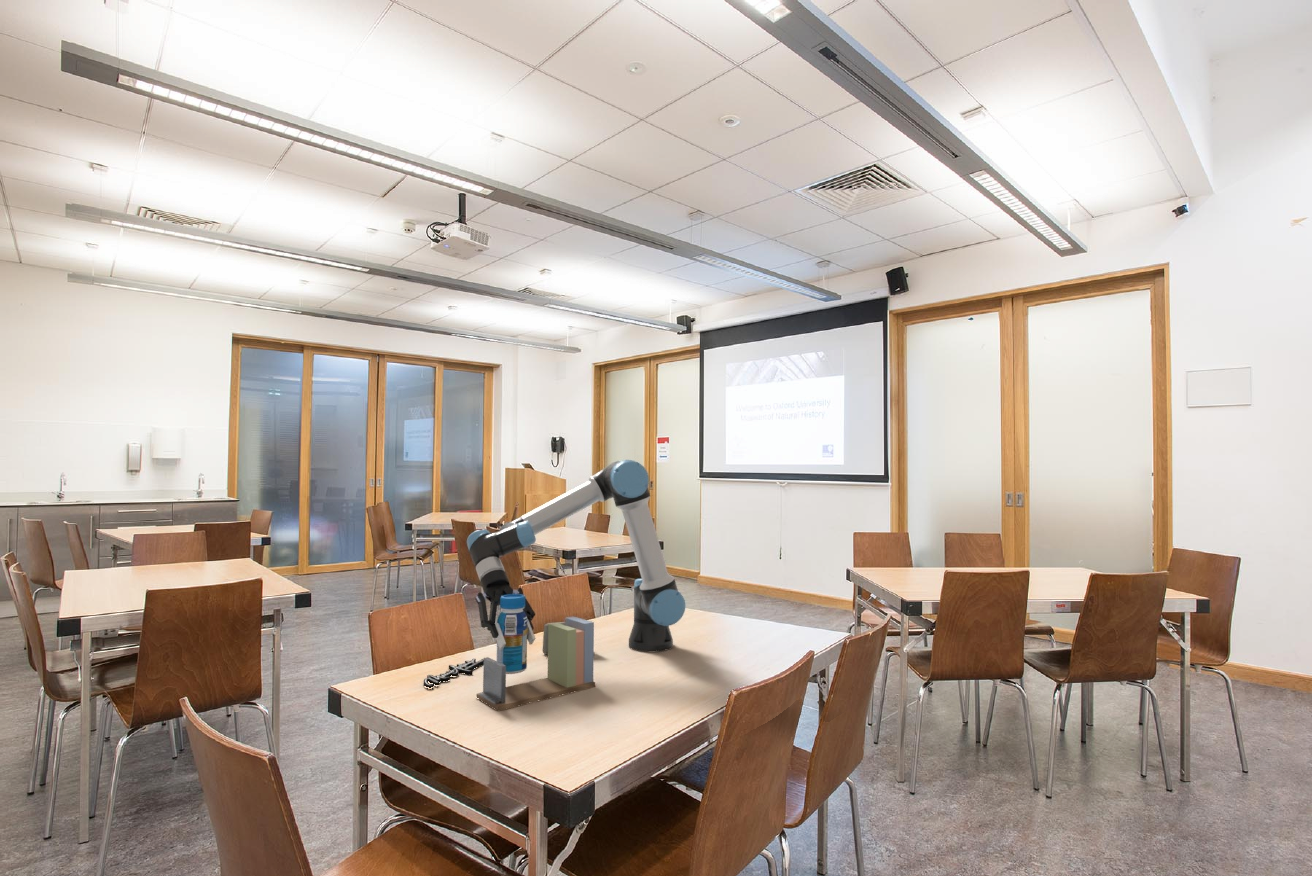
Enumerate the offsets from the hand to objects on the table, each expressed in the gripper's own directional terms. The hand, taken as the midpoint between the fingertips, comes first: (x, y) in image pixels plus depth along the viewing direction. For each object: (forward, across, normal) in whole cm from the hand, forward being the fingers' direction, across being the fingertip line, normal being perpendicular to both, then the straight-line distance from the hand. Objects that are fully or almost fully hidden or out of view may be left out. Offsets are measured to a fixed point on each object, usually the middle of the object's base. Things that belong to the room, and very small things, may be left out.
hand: (518, 644), depth 173 cm
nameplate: (-8, +7, -26) cm, 29 cm away
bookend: (+11, +10, -4) cm, 15 cm away
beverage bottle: (+3, 0, -8) cm, 9 cm away
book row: (+11, -14, -5) cm, 18 cm away
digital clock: (-7, -30, -25) cm, 40 cm away
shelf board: (+12, -4, -5) cm, 14 cm away
